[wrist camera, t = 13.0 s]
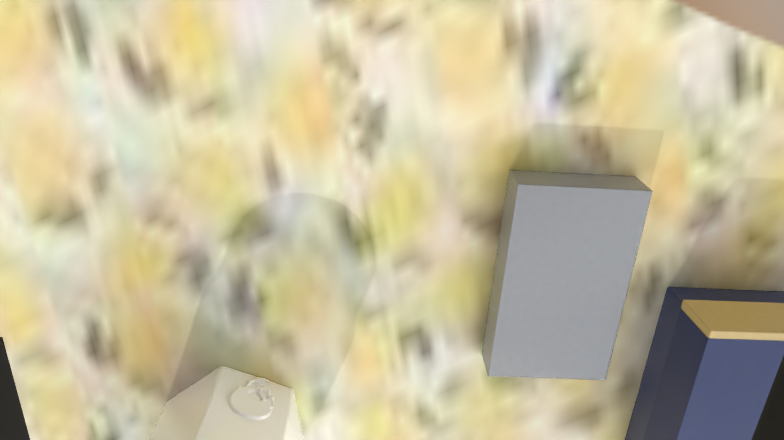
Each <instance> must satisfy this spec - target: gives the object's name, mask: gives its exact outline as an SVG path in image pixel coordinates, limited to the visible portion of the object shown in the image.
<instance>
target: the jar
mask: <svg viewBox="0 0 784 440" xmlns="http://www.w3.org/2000/svg"><path fill="white" fill-rule="evenodd" d="M149 440H304V436H303V431H302V426H301V421H300V416H299V411H298V406H297V402H296V397H295V392H294V390H293V389H292V388H289V387H286V386H283V385H280V384H277V383H274V382H271V381H268V380H267V379H265V378H258V377H255V376H252V375H249V374H246V373H243V372H240V371H237V370H234V369H231V368H228V367H225V366H220V367H218V368H217V369H215V370H214V371H212V372H211V373H209V374H208V375H206V376H205V377H203V378H202V379H200V380H199V381H197V382H196V383H194V384H193V385H191V386H190V387H188V388H187V389H185V390H184V391H182V392H181V393H179V394H178V395H176V396H175V397H173V398H172V399H170V400H169V401H167V402H166V404H165V406H164V409H163V411H162V413H161V415H160V417H159V419H158V421H157V423H156V425H155V428H154V430H153V432H152V434H151V436H150V438H149Z"/></svg>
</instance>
